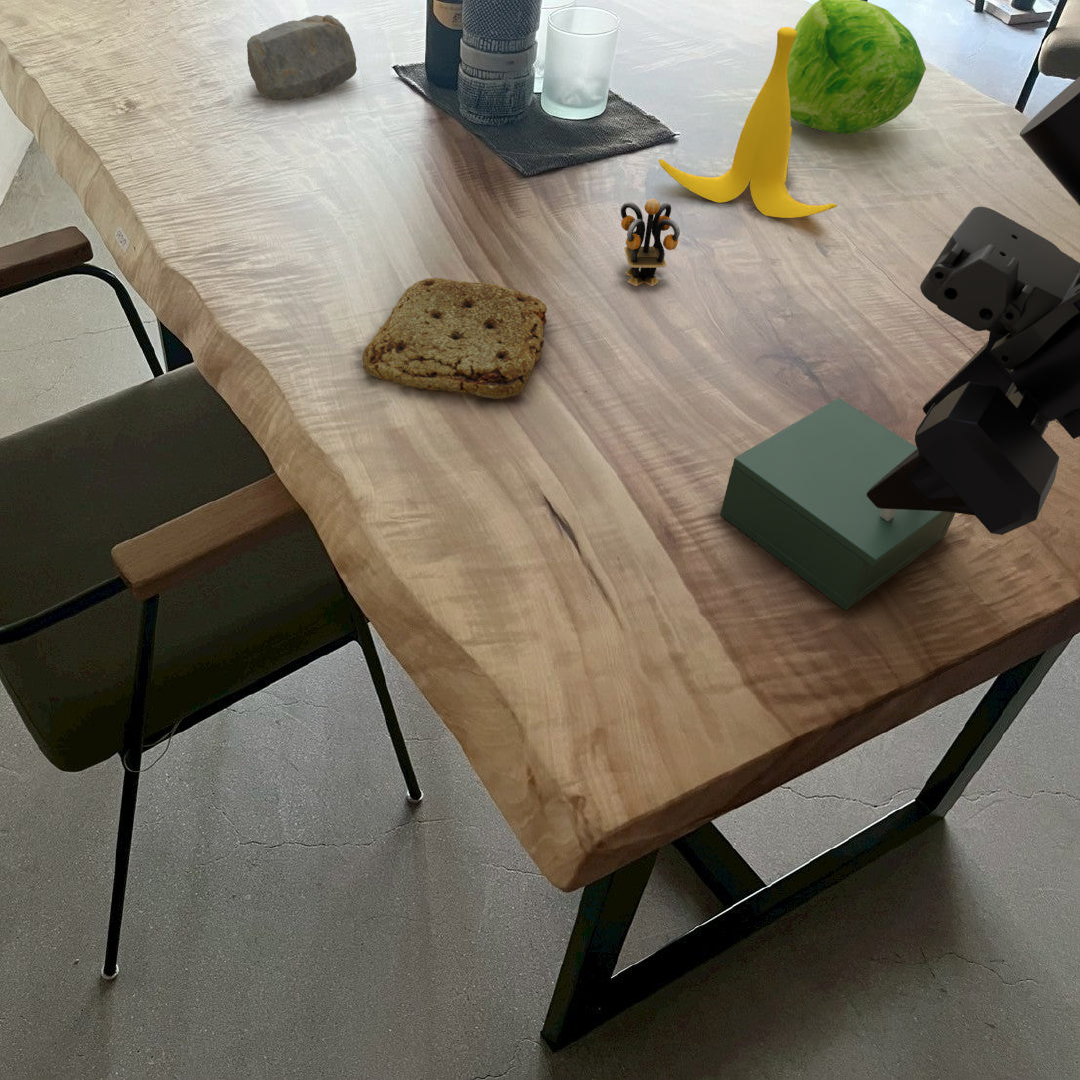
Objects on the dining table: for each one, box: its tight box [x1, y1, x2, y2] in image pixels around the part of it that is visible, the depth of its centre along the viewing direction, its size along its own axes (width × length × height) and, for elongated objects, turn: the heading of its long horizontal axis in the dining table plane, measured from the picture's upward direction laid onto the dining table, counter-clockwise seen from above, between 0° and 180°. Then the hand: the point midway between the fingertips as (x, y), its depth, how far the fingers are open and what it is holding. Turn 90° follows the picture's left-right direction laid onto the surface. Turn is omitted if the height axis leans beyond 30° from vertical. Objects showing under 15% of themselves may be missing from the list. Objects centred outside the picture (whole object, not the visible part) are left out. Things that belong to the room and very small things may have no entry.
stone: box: [246, 14, 358, 102], centre depth 121 cm, size 12×8×8 cm, turn 125°
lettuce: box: [787, 0, 927, 136], centre depth 121 cm, size 15×20×14 cm
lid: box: [732, 397, 948, 566], centre depth 71 cm, size 12×12×5 cm
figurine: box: [620, 198, 681, 287], centre depth 96 cm, size 5×5×8 cm
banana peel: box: [658, 26, 838, 219], centre depth 105 cm, size 17×19×17 cm
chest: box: [720, 465, 956, 611], centre depth 75 cm, size 12×12×5 cm
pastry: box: [361, 277, 548, 399], centre depth 88 cm, size 17×17×3 cm
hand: (901, 455), depth 59 cm, fingers open, 9 cm apart
